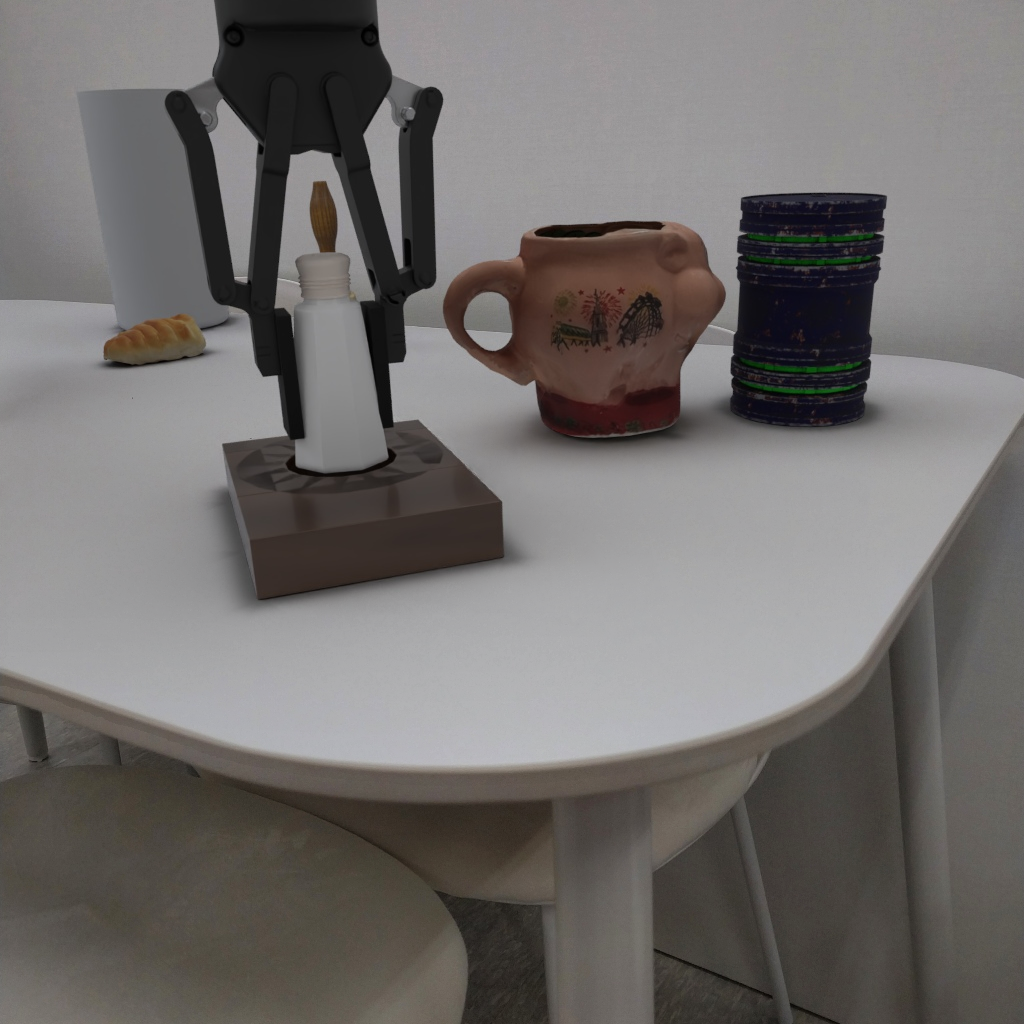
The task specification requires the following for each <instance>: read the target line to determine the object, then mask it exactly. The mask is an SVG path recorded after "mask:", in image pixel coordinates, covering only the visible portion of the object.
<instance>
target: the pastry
mask: <svg viewBox="0 0 1024 1024" xmlns="http://www.w3.org/2000/svg"><path fill="white" fill-rule="evenodd" d="M206 347H207V341H206V338H205V336H204V334H203V331H202V329H200V328H199V327H198V326H197V325H196V322H195V320H194V319H193V318H192V317H191V316H189V315H186V314H178V315H176V316H171V317H170V318H163V319H150V320H146V321H144V322H142V323H140V324H137V325H135V326H134V327H133V328H131V329H129V330H124V331H121V332H119V333H118V334H117V335H116V336H113V337H112V338H109V339H108V340H107V341H105V343H104V345H103V359H104V361H109V360H110V361H114V362H119V363H124V364H130V365H131V366H133V365H138V366H141V365H144V364H148V363H158V362H161V361H174V360H179V359H182V358H183V357H188V358H191V357H196V356H199V355H201V354H203V353H204V350H205V348H206Z"/></svg>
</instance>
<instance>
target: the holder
mask: <svg viewBox="0 0 1024 1024" xmlns="http://www.w3.org/2000/svg"><path fill="white" fill-rule="evenodd" d="M393 423H394V427H392V428H385V429H383V430H384V435H385V441H386V447H387V452H388V459H387V460H385V461H383V462H380V463H378V464H376V465H373V466H371V467H368V468H366V469H364V470H357V471H346V472H334V473H320V472H316V471H311V470H307V469H302V468H298V467H297V466H296V458H295V440H290V438H289V436H288V435H281V436H272V437H264V438H257V439H255V438H254V439H249V440H248V439H247V440H239V441H232V442H224V443H221V448H222V454H223V461H224V469H225V475H226V483H227V491H228V494H229V497H230V501H231V504H232V508H233V512H234V516H235V521H236V524H237V527H238V532H239V536H240V539H241V542H242V546H243V550H244V554H245V557H246V561H247V565H248V569H249V572H250V577H251V580H252V583H253V587H254V591H255V596H256V599H257V600H263V599H268V598H274V597H280V596H286V595H291V594H298V593H302V592H303V593H304V592H309V591H315V590H321V589H325V588H332V587H339V586H344V585H349V584H356V583H361V582H367V581H373V580H378V579H379V580H380V579H384V578H391V577H396V576H402V575H407V574H414V573H419V572H424V571H430V570H435V569H442V568H443V569H444V568H447V567H453V566H458V565H465V564H472V563H477V562H484V561H487V560H493V559H499V558H504V556H505V546H504V544H505V543H504V542H505V541H504V518H503V517H504V514H503V513H504V512H503V501H502V500H501V499H500V498H499V497H498V496H497V495H496V494H495V493H494V491H492V490H491V489H490V488H489V487H488V485H486V484H485V483H484V482H483V481H482V480H481V479H480V478H479V477H478V476H477V475H476V474H475V473H473V472H472V471H471V469H469V468H468V466H466V465H465V463H464V462H463V461H462V460H461V459H460V458H458V456H457V455H456V454H454V453H453V451H451V449H449V448H448V447H447V446H446V445H445V444H444V443H443V442H442V440H440V439H439V438H438V437H437V436H436V435H435V434H434V433H433V432H432V431H431V430H430V429H429V428H427V426H425V425H424V423H422V422H421V420H419V419H410V420H403V421H402V420H401V421H393Z"/></svg>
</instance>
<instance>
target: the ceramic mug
mask: <svg viewBox="0 0 1024 1024" xmlns="http://www.w3.org/2000/svg"><path fill="white" fill-rule="evenodd" d="M709 263H710V262H709V255H708V249H707V247H706V243H704V240H703V238H702V236H700V234H699V233H698V232H696V231H695V230H694V229H692V228H690V227H688V226H686V225H685V224H682V223H679V222H674V221H665V220H664V221H663V220H649V221H647V220H620V221H619V220H618V221H606V222H600V223H576V224H575V223H573V224H549V225H542V226H538V227H535V228H532V229H530V230H527V231H526V232H524V233H523V234H522V237H521V238H520V243H519V253H518V255H517V256H516V257H513V258H509V259H505V260H504V259H499V260H498V259H497V260H488V261H487V260H485V261H482V262H477V263H476V264H473V265H471V266H469V267H467V268H466V269H464V270H463V271H461V272H460V273H458V274H457V275H456V276H455V277H454V279H452V281H451V282H450V284H449V286H448V288H447V289H446V290H447V291H446V292H445V295H444V298H443V301H442V315H443V319H444V323H445V326H446V328H447V330H448V332H449V334H450V336H451V338H452V339H453V340H454V341H455V343H456V344H457V345H459V346H460V347H461V348H462V349H464V350H465V351H466V352H467V353H468V355H469V356H471V357H472V358H473V359H475V360H476V361H478V362H480V363H481V364H482V365H483V366H485V367H486V368H487V369H488V370H490V371H491V372H494V373H497V374H499V375H502V376H504V377H506V378H508V379H509V380H511V381H512V382H514V383H515V384H517V385H520V386H521V387H525V386H527V385H529V384H531V383H532V382H534V383H535V384H534V385H535V395H536V400H537V407H538V411H539V414H540V415H539V416H540V419H541V421H542V423H544V425H545V426H546V427H547V428H549V429H550V430H552V431H555V432H557V433H560V434H563V435H568V436H570V437H576V438H590V439H591V438H592V439H593V438H594V439H595V438H615V437H626V436H627V437H628V436H635V435H640V434H645V433H653V432H658V431H662V430H665V429H668V428H670V427H672V426H673V425H674V424H676V423H677V421H678V420H679V418H680V416H681V371H682V367H683V365H684V362H686V361H685V360H686V359H687V357H688V356H689V355H690V353H691V352H692V351H693V349H694V347H695V345H697V342H698V341H699V339H700V337H701V336H702V335H703V333H705V331H706V330H707V328H708V327H709V325H710V324H711V323H712V322H713V321H714V320H715V319H716V318H717V316H718V314H719V313H720V311H722V308H723V307H724V305H725V303H726V299H727V298H726V297H727V291H726V288H725V285H724V283H723V281H721V279H720V278H719V277H718V276H717V275H716V274H715V273H714V272H713V270H712V269H711V267H710V265H709ZM483 293H494V294H499V295H501V296H502V297H503V298H505V299H506V301H507V303H508V313H509V317H510V323H511V336H510V338H509V340H508V342H507V343H506V344H505V345H504V346H503V347H502V348H499V349H496V350H489V349H486V348H484V347H483V346H482V345H480V344H479V343H478V342H477V341H475V340H474V339H473V338H472V337H471V336H470V334H469V333H468V332H467V330H466V328H465V316H466V312H467V310H468V306H469V305H470V304H471V302H472V301H473V300H474V299H475V298H476V297H477V296H479V295H481V294H483Z"/></svg>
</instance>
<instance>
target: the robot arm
mask: <svg viewBox="0 0 1024 1024" xmlns="http://www.w3.org/2000/svg"><path fill="white" fill-rule="evenodd" d="M213 3H214V10H215V19H216V26H217V27H216V28H217V36H218V51H217V56H216V60H215V62H214V64H213V67H212V71H211V77H209V78H207V79H205V80H203V81H200V82H199V83H197V84H195V85H193V86H190V87H188V88H186V90H183V91H179V90H175V91H171V92H170V93H169V94H168V95H167V96H166V98H165V100H164V109H165V112H166V114H167V116H168V117H169V119H170V121H171V123H172V125H173V127H174V128H175V130H176V132H177V134H178V136H179V138H180V140H181V141H182V143H183V145H184V150H185V155H186V161H187V167H188V173H189V178H190V184H191V190H192V196H193V201H194V207H195V213H196V219H197V224H198V230H199V236H200V242H201V247H202V253H203V259H204V265H205V271H206V276H207V282H208V288H209V291H210V293H211V295H212V297H213V299H214V300H215V301H216V302H217V303H218V304H220V305H225V306H228V307H231V308H234V309H239V310H241V311H243V312H245V313H246V314H247V316H248V318H249V326H250V327H249V328H250V335H251V342H252V343H251V344H252V351H253V360H254V364H255V366H256V367H257V369H258V371H259V373H260V374H261V376H262V378H265V377H266V378H267V377H276V376H277V383H278V391H279V399H280V407H281V408H280V409H281V416H282V425H283V429H284V431H285V433H286V436H289V438H290V440H296V439H305V436H304V427H303V418H302V409H301V400H300V391H299V382H298V373H297V364H296V355H295V346H294V327H293V319H292V315H291V314H290V312H289V311H288V310H287V309H286V308H285V307H276V300H277V299H276V298H277V290H278V278H279V270H280V269H279V268H280V258H281V248H282V237H283V225H284V215H285V205H286V195H287V194H286V193H287V183H288V177H289V172H290V166H291V156H294V155H295V156H297V155H301V154H305V153H307V152H310V151H313V152H317V153H320V154H330V155H331V159H332V162H333V166H334V168H335V170H336V172H337V174H338V178H339V181H340V184H341V187H342V191H343V195H344V197H345V201H346V205H347V208H348V211H349V215H350V218H351V221H352V225H353V228H354V229H353V230H354V232H355V236H356V239H357V243H358V246H359V249H360V252H361V256H362V260H363V263H364V268H365V269H366V274H367V277H368V280H369V284H370V287H371V291H372V293H373V295H374V299H371V300H361V301H359V303H360V306H361V310H362V315H363V320H364V325H365V331H366V336H367V342H368V347H369V353H370V358H371V364H372V369H373V375H374V380H375V386H376V391H377V399H378V408H379V415H380V419H381V423H382V427H383V429H385V428H392V427H394V423H393V422H394V413H393V400H392V399H393V398H392V387H391V386H392V385H391V374H390V364H399V363H404V361H405V359H406V355H407V343H406V330H405V329H406V325H405V313H404V306H405V303H406V302H407V300H408V298H409V297H411V296H412V295H413V294H416V293H419V292H420V291H422V290H428V289H431V288H432V287H434V286H435V284H436V282H437V245H436V243H437V242H436V208H435V207H436V206H435V205H436V204H435V171H434V135H435V132H436V128H437V126H438V123H439V118H440V116H441V112H442V109H443V105H444V95H443V93H442V92H441V90H440V89H438V88H437V87H436V86H426V87H423V86H419V85H418V84H415V83H413V82H410V81H407V80H406V79H403V78H401V77H398V76H396V75H393V70H392V67H391V64H390V62H389V61H388V59H387V58H386V56H385V54H384V52H383V49H382V45H381V41H380V29H379V15H378V13H379V12H378V0H213ZM385 99H386V100H387V101H388V102H389V104H390V108H391V114H390V115H391V120H392V122H393V123H394V124H395V125H396V126H397V127H399V132H398V171H399V172H398V173H399V196H400V220H401V221H400V223H401V226H400V227H401V248H402V250H401V251H402V267H401V268H398V264H397V260H396V256H395V252H394V249H393V245H392V242H391V238H390V235H389V231H388V227H387V223H386V220H385V216H384V213H383V210H382V206H381V202H380V198H379V195H378V191H377V188H376V184H375V180H374V176H373V173H372V169H371V167H372V166H371V165H372V163H371V158H370V154H369V152H368V151H369V150H368V147H367V144H366V143H367V142H366V140H365V133H366V131H367V130H368V128H369V126H370V125H371V123H372V121H373V119H374V118H375V116H376V114H377V112H378V111H379V109H380V107H381V106H382V104H383V103H384V100H385ZM221 100H223V101H224V102H225V103H226V105H227V106H228V107H229V109H231V110H232V112H233V113H234V114H235V115H236V117H237V118H238V119H239V120H240V122H241V123H242V124H243V125H244V126H245V128H246V129H247V130H248V131H249V132H250V134H251V135H252V136H253V138H255V140H256V141H257V148H256V158H255V159H256V160H255V172H256V173H255V185H254V195H253V207H252V219H251V229H250V231H251V232H250V242H249V252H248V254H249V255H248V267H247V278H246V282H244V281H241V280H237V279H236V278H235V273H234V267H233V261H232V254H231V249H230V241H229V235H228V230H227V223H226V218H225V210H224V204H223V198H222V193H221V192H222V191H221V187H220V181H219V175H218V169H217V162H216V155H215V151H214V147H213V143H212V140H211V137H210V133H212V132H213V131H215V130H216V129H217V128H218V124H219V117H218V112H217V108H218V105H219V102H220V101H221Z"/></svg>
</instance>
